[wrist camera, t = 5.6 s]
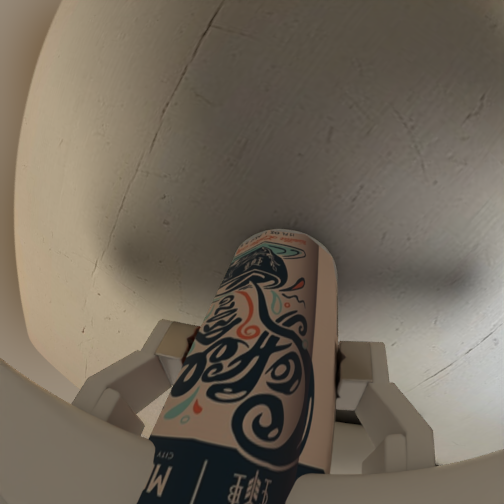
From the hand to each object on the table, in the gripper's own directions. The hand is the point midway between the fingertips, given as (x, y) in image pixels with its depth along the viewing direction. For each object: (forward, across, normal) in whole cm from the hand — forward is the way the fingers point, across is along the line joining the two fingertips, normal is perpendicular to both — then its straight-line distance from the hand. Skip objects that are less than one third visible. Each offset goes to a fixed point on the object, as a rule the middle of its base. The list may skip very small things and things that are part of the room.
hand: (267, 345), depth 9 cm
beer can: (+5, 0, 0) cm, 5 cm away
